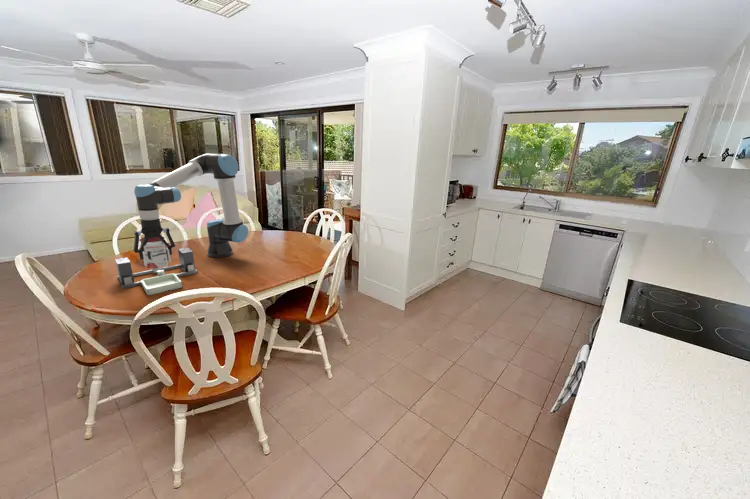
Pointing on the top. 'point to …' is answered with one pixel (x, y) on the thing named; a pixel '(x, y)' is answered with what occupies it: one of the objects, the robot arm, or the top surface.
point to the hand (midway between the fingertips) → (157, 263)
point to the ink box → (156, 254)
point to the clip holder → (128, 277)
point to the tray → (161, 283)
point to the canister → (150, 239)
